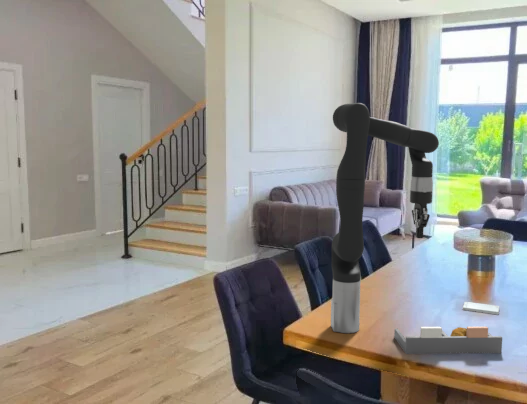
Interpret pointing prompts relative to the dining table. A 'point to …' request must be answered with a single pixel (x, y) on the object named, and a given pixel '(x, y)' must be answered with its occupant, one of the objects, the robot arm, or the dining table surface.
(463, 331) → the bagel
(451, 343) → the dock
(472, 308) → the hard drive
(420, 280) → the dining table surface
